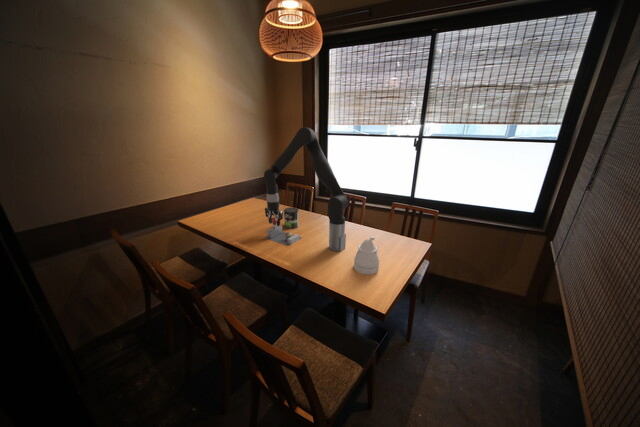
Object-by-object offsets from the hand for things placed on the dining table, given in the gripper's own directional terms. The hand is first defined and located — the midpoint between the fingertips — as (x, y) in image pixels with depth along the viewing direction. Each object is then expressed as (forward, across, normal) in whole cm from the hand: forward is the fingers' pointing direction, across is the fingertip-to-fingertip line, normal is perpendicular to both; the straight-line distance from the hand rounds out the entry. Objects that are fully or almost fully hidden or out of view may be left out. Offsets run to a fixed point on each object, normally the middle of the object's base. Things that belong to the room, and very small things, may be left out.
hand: (274, 224), depth 163 cm
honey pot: (+10, -65, 0) cm, 66 cm away
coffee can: (+10, +1, -18) cm, 20 cm away
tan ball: (+5, -12, 0) cm, 13 cm away
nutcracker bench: (+9, -7, 0) cm, 12 cm away
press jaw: (+8, 0, 0) cm, 8 cm away
